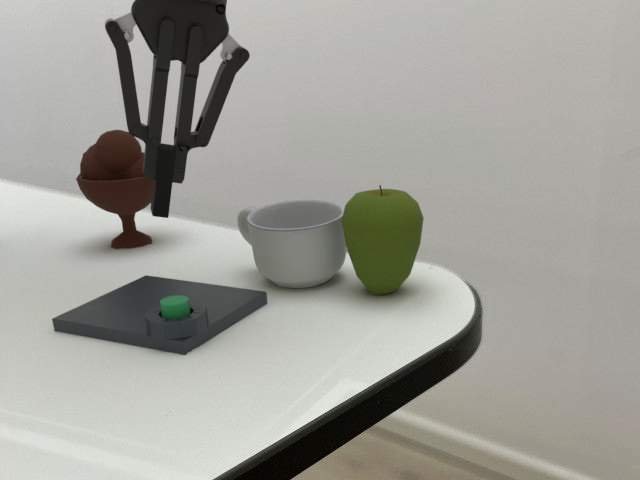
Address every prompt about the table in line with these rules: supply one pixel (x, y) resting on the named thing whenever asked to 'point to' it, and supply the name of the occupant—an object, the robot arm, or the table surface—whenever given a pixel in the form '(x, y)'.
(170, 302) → the button
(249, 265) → the table surface
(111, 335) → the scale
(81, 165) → the ice cream bowl
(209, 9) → the robot arm
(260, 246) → the teacup
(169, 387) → the table surface
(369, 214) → the apple
